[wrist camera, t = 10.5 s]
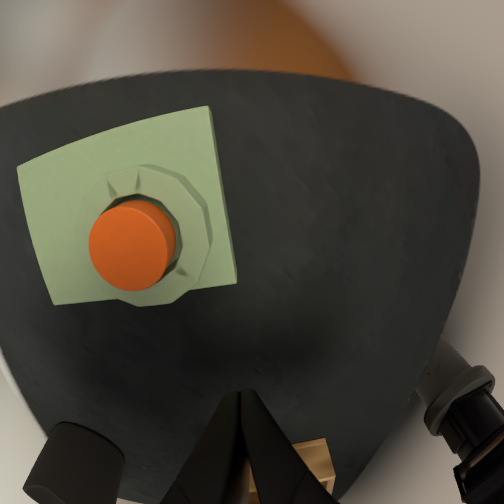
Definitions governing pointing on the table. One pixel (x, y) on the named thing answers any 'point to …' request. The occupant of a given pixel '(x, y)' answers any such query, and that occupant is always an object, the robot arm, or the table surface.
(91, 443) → the pen holder
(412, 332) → the table surface
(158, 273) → the button
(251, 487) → the wooden case
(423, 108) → the table surface
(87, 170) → the control block
